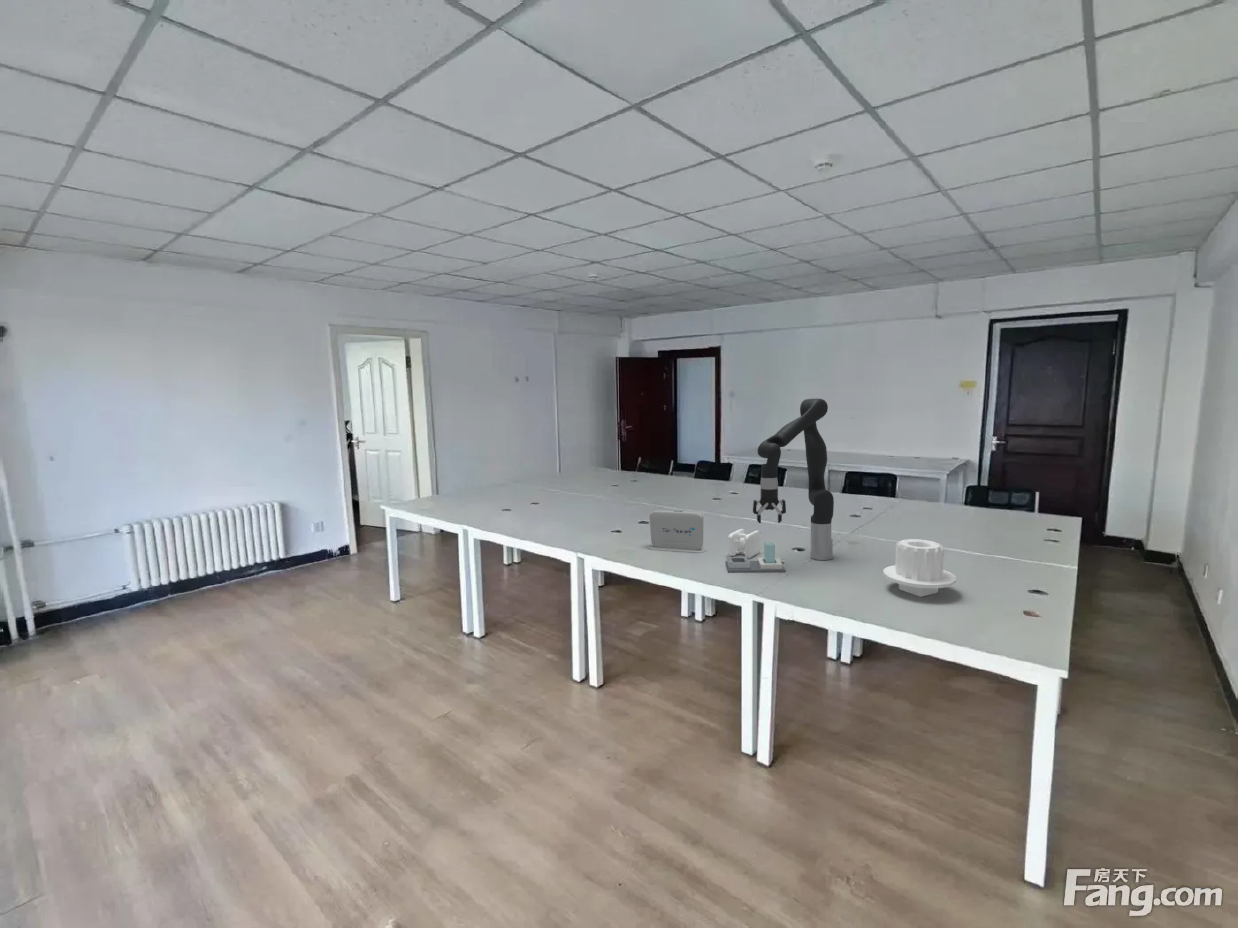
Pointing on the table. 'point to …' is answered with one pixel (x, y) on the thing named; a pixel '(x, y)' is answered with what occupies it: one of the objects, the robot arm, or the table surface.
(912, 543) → the flanged gear
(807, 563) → the table surface
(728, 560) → the block
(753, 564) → the panel base
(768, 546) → the plug
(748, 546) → the cable organizer
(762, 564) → the light grey square tray
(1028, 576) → the table surface
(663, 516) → the wireless router
